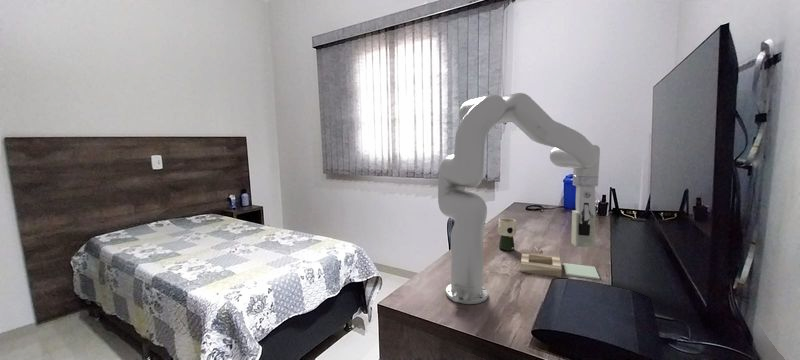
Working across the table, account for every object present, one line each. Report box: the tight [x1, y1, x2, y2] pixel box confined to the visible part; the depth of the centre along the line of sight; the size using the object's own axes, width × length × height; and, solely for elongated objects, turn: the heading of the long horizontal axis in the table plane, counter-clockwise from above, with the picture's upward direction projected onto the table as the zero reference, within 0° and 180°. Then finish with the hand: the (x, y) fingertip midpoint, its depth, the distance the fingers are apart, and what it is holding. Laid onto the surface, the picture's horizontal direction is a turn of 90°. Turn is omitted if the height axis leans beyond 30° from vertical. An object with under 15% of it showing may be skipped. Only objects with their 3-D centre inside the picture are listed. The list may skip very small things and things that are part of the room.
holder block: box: [520, 251, 563, 278], centre depth 114 cm, size 13×13×3 cm
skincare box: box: [570, 209, 597, 248], centre depth 108 cm, size 6×4×12 cm
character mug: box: [497, 217, 517, 251], centre depth 133 cm, size 11×7×13 cm, turn 122°
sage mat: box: [563, 262, 601, 281], centre depth 110 cm, size 10×10×1 cm
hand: (582, 232), depth 108 cm, fingers closed on skincare box, 5 cm apart
